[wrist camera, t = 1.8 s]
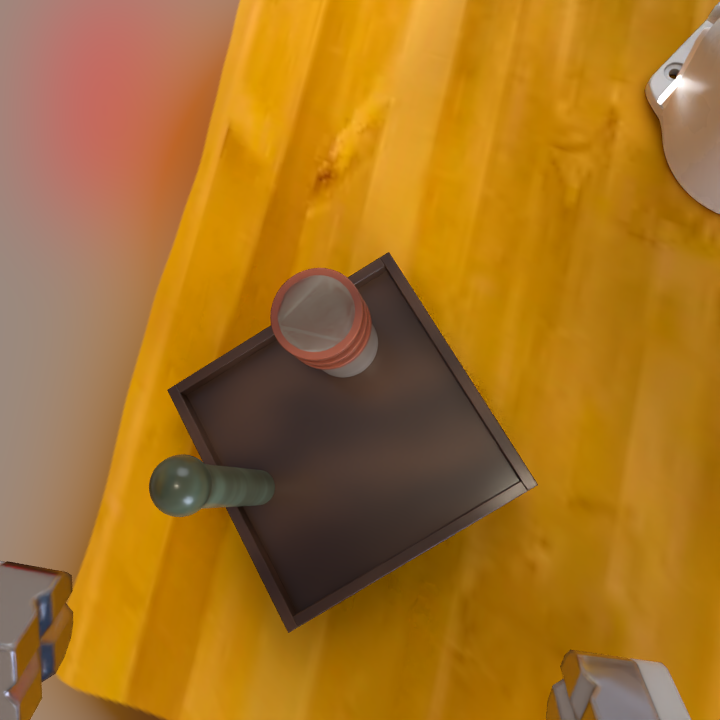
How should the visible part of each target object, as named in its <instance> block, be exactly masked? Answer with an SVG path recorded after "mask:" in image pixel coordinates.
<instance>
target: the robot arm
mask: <svg viewBox="0 0 720 720" xmlns="http://www.w3.org/2000/svg"><path fill="white" fill-rule="evenodd" d="M669 75H676V76H677V77H676V79H672V78H670V76H669ZM645 94H646V97H647V100H648V102H649V104H650V106H651V107H652V109H653V110H654V112H655V114H656V115H657V117H658V118H659V120H660V124H661V129H662V140H663V148H664V153H665V157H666V159H667V162H668V165H669V167H670V169H671V171H672V173H673V175H674V176H675V178H676V179H677V181H678V182H679V184H680V185H681V186H682V187H683V188H684V190H685V191H686V192H687V193H688V194H689V195H690V196H691V197H693V198H694V199H695V200H696V201H698V202H699V203H700V204H702V205H703V206H705V207H706V208H708V209H710V210H712V211H713V212H715V213H718V214H720V2H719V3H718V4H717V5H716V6H715V7H714V9H713V10H712V11H711V13H710V15H709V16H708V18H707V20H706V21H705V22H704V23H703V24H702V25H701V26H700V27H699V28H698V29H697V30H696V31H695V32H694V33H693V34H692V35H691V36H690V37H689V38H688V39H687V40H686V41H685V42H684V43H683V44H682V46H681V47H680V48H679V49H678V50H677V51H676V52H675V53H674V54H673V55H672V56H671V57H670V58H669V59H668V60H667V61H666V62H665V63H664V64H663V65H662V66H661V67H660V68H659V69H658V70H657V71H656V72H655V73H654V74H653V76H652V77H651V79H650V80H649V82H648V83H647V85H646V88H645ZM72 591H73V590H72V575H70V574H69V573H67V572H62V571H58V570H52V569H46V568H40V567H35V566H29V565H24V564H19V563H13V562H4V561H0V720H30V719H31V717H32V715H33V713H34V712H35V710H36V708H37V706H38V705H39V703H40V701H41V699H42V687H41V686H42V685H41V683H42V682H43V681H45V680H46V679H48V678H49V677H51V676H52V675H54V674H56V672H57V670H58V668H59V666H60V664H61V663H62V661H63V659H64V657H65V654H66V651H67V648H68V645H69V642H70V639H71V634H72V628H73V611H72V610H71V609H70V608H69V606H68V605H67V604H66V601H67V599H68V598H69V596H70V594H71V593H72ZM560 667H561V670H562V674H563V678H564V679H562V680H561V681H559V682H558V683H556V684H554V685H553V686H552V689H551V692H550V695H549V698H548V701H547V712H546V720H691V718H690V716H689V714H688V711H687V709H686V707H685V705H684V703H683V701H682V699H681V696H680V694H679V692H678V690H677V688H676V686H675V684H674V681H673V679H672V677H671V675H670V673H669V671H668V669H667V668H666V667H665V666H664V665H663V664H662V663H660V662H653V661H646V660H639V659H632V658H631V659H628V658H625V657H618V656H611V655H604V654H597V653H590V652H583V651H576V650H570V651H569V652H568V653H567V654H565V656H564V659H563V661H562V663H561V666H560Z"/></svg>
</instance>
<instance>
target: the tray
mask: <svg viewBox="0 0 720 720" xmlns="http://www.w3.org/2000/svg"><path fill="white" fill-rule="evenodd" d="M168 392H169V394H170V396H171V398H172V400H173V402H174V404H175V406H176V408H177V410H178V412H179V414H180V416H181V418H182V421H183V423H184V425H185V427H186V429H187V431H188V433H189V435H190V437H191V439H192V441H193V443H194V445H195V447H196V449H197V451H198V453H199V455H200V457H201V459H202V461H203V462H202V461H201V460H199V459H198V458H196V457H193V456H190V455H175V456H172V457H169V458H167V459H165V460H164V461H162V462H161V463H160V464H159V465H158V466H157V467H156V468H155V470H154V471H153V473H152V476H151V478H150V483H149V491H150V496H151V499H152V501H153V503H154V504H155V506H156V507H157V508H158V509H159V510H160V511H162V512H163V513H165V514H167V515H170V516H174V517H185V516H189V515H192V514H194V513H196V512H198V511H199V510H200V509H201V508H219V507H226V509H227V511H228V513H229V515H230V517H231V519H232V521H233V523H234V525H235V527H236V529H237V531H238V533H239V535H240V537H241V539H242V541H243V543H244V545H245V547H246V549H247V551H248V553H249V555H250V557H251V559H252V561H253V563H254V565H255V567H256V569H257V571H258V573H259V575H260V577H261V579H262V581H263V583H264V585H265V587H266V589H267V591H268V593H269V595H270V597H271V599H272V601H273V603H274V605H275V607H276V609H277V611H278V613H279V615H280V617H281V619H282V621H283V623H284V625H285V627H286V629H287V631H288V633H289V632H291V631H293V630H294V629H296V628H298V627H299V626H301V625H303V624H304V623H306V622H308V621H309V620H311V619H313V618H314V617H316V616H318V615H319V614H321V613H323V612H325V611H326V610H328V609H330V608H331V607H333V606H335V605H336V604H338V603H340V602H341V601H343V600H345V599H346V598H348V597H350V596H351V595H353V594H355V593H357V592H358V591H360V590H362V589H363V588H365V587H367V586H368V585H370V584H372V583H373V582H375V581H377V580H378V579H380V578H382V577H384V576H385V575H387V574H389V573H390V572H392V571H394V570H395V569H397V568H399V567H400V566H402V565H404V564H405V563H407V562H409V561H410V560H412V559H414V558H416V557H417V556H419V555H421V554H422V553H424V552H426V551H427V550H429V549H431V548H432V547H434V546H436V545H437V544H439V543H441V542H443V541H444V540H446V539H448V538H449V537H451V536H453V535H454V534H456V533H458V532H459V531H461V530H463V529H464V528H466V527H468V526H469V525H471V524H473V523H475V522H476V521H478V520H480V519H481V518H483V517H485V516H486V515H488V514H490V513H491V512H493V511H495V510H496V509H498V508H500V507H501V506H503V505H505V504H507V503H508V502H510V501H512V500H513V499H515V498H517V497H518V496H520V495H522V494H523V493H525V492H527V491H528V490H530V489H532V488H534V487H535V486H537V485H538V484H537V482H536V481H535V479H534V478H533V476H532V475H531V473H530V471H529V470H528V468H527V467H526V465H525V464H524V462H523V461H522V459H521V457H520V456H519V454H518V453H517V451H516V450H515V448H514V447H513V445H512V443H511V442H510V440H509V439H508V437H507V436H506V434H505V432H504V431H503V429H502V428H501V426H500V425H499V423H498V422H497V420H496V418H495V417H494V415H493V414H492V412H491V411H490V409H489V408H488V406H487V404H486V403H485V401H484V400H483V398H482V397H481V395H480V393H479V392H478V390H477V389H476V387H475V386H474V384H473V383H472V381H471V379H470V378H469V376H468V375H467V373H466V372H465V370H464V369H463V367H462V365H461V364H460V362H459V361H458V359H457V358H456V356H455V355H454V353H453V351H452V350H451V348H450V347H449V345H448V344H447V342H446V340H445V339H444V337H443V336H442V334H441V333H440V331H439V330H438V328H437V326H436V325H435V323H434V322H433V320H432V319H431V317H430V316H429V314H428V312H427V311H426V309H425V308H424V306H423V305H422V303H421V301H420V300H419V298H418V297H417V295H416V294H415V292H414V291H413V289H412V287H411V286H410V284H409V283H408V281H407V280H406V278H405V277H404V275H403V273H402V272H401V270H400V269H399V267H398V266H397V264H396V263H395V261H394V259H393V258H392V256H391V255H390V253H389V252H388V253H386V254H385V255H383V256H382V257H380V258H378V259H377V260H375V261H374V262H372V263H370V264H369V265H367V266H366V267H364V268H362V269H361V270H359V271H358V272H356V273H354V274H353V275H351V276H350V277H348V278H347V277H346V276H344V275H343V274H341V273H339V272H337V271H334V270H331V269H326V268H314V269H308V270H305V271H302V272H300V273H298V274H296V275H294V276H293V277H291V278H290V279H288V280H287V281H286V282H285V283H284V284H283V285H282V287H281V288H280V289H279V291H278V292H277V294H276V296H275V298H274V301H273V304H272V308H271V326H269V327H268V328H266V329H264V330H263V331H261V332H260V333H258V334H256V335H255V336H253V337H252V338H250V339H248V340H247V341H245V342H244V343H242V344H240V345H239V346H237V347H235V348H234V349H232V350H231V351H229V352H227V353H226V354H224V355H223V356H221V357H219V358H218V359H216V360H215V361H213V362H211V363H210V364H208V365H207V366H205V367H203V368H202V369H200V370H199V371H197V372H195V373H194V374H192V375H191V376H189V377H187V378H186V379H184V380H182V381H181V382H179V383H178V384H176V385H174V386H173V387H171V388H170V389H168Z"/></svg>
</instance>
